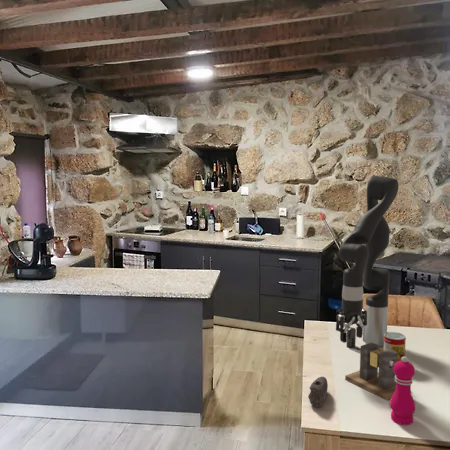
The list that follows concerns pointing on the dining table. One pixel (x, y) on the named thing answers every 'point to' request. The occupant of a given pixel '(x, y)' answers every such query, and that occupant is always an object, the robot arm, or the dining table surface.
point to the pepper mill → (403, 393)
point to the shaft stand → (375, 372)
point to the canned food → (395, 343)
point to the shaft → (352, 339)
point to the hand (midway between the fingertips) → (351, 339)
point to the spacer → (375, 357)
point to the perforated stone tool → (318, 391)
